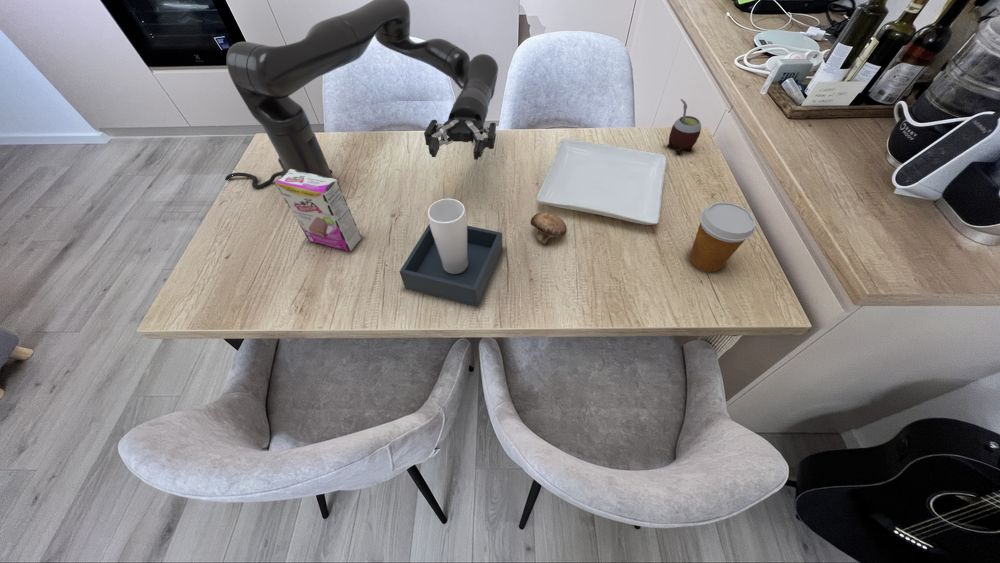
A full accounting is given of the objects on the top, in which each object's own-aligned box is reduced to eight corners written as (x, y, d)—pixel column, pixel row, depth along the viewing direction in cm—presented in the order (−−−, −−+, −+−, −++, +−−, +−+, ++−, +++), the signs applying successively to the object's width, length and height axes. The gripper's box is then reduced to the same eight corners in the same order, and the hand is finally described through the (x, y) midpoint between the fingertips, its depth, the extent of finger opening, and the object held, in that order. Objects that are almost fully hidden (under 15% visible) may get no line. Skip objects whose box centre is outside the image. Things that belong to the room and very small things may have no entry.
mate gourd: (693, 144, 108) (715, 89, 96) (691, 160, 104) (714, 104, 92) (665, 139, 110) (683, 84, 98) (662, 154, 105) (680, 99, 94)
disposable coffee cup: (725, 285, 78) (754, 242, 68) (676, 267, 81) (697, 224, 71) (733, 253, 83) (761, 209, 73) (687, 238, 86) (708, 194, 76)
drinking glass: (463, 282, 79) (454, 227, 67) (433, 272, 80) (419, 217, 69) (477, 258, 83) (471, 202, 71) (448, 250, 84) (438, 194, 73)
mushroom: (536, 245, 81) (546, 215, 79) (519, 233, 88) (527, 206, 86) (567, 250, 85) (577, 222, 83) (548, 239, 92) (556, 213, 90)
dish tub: (405, 288, 79) (399, 271, 75) (436, 235, 88) (432, 218, 84) (478, 307, 76) (475, 290, 72) (502, 250, 85) (502, 232, 81)
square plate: (654, 236, 86) (659, 223, 83) (534, 212, 93) (534, 198, 89) (664, 165, 102) (668, 152, 99) (560, 148, 108) (562, 135, 105)
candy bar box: (307, 242, 88) (273, 182, 75) (321, 227, 91) (289, 167, 78) (350, 253, 86) (322, 193, 73) (363, 238, 88) (337, 177, 76)
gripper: (501, 130, 89) (490, 173, 79) (440, 126, 91) (421, 168, 80) (501, 97, 83) (488, 139, 73) (435, 94, 85) (414, 134, 75)
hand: (453, 154), depth 77 cm, fingers open, 8 cm apart
